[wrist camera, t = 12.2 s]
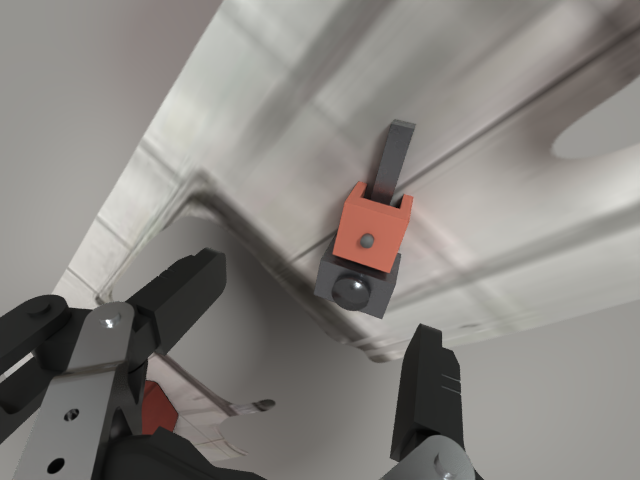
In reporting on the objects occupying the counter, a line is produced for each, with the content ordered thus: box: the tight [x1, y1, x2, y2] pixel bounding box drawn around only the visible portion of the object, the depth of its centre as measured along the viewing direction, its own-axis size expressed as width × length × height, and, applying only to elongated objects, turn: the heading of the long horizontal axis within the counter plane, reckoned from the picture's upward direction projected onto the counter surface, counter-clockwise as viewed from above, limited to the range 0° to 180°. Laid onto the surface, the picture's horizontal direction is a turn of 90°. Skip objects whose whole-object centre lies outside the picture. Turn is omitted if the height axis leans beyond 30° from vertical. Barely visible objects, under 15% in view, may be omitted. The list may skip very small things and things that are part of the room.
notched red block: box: [333, 181, 413, 273], centre depth 31 cm, size 6×6×7 cm
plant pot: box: [142, 381, 178, 435], centre depth 70 cm, size 19×19×17 cm
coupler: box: [314, 120, 416, 319], centre depth 31 cm, size 19×8×7 cm, turn 170°
